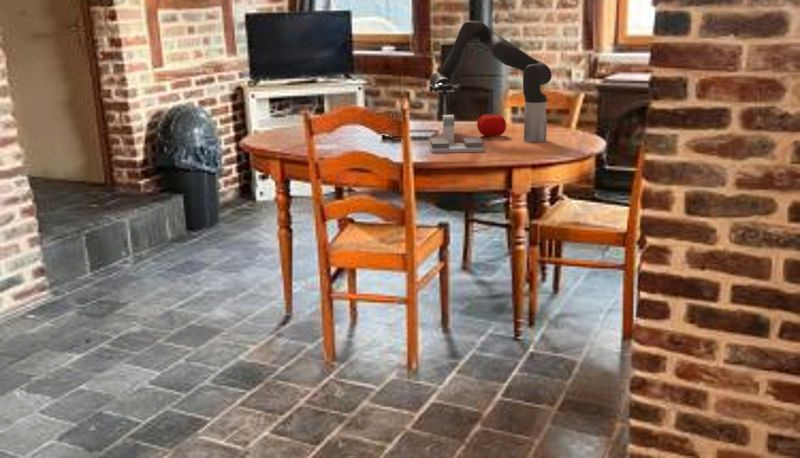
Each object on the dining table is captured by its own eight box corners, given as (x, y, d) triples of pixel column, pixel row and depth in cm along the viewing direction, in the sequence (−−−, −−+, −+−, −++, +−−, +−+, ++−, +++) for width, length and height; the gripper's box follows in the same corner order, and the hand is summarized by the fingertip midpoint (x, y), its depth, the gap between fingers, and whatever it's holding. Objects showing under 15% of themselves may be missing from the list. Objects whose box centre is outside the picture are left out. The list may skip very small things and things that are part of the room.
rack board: (479, 144, 336) (479, 136, 335) (484, 151, 320) (484, 143, 319) (429, 146, 335) (428, 138, 334) (431, 152, 320) (431, 144, 319)
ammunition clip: (405, 138, 356) (404, 112, 353) (405, 139, 354) (404, 112, 351) (381, 138, 356) (381, 112, 353) (381, 139, 355) (380, 113, 351)
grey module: (453, 141, 345) (453, 114, 341) (454, 143, 340) (454, 116, 336) (442, 142, 345) (442, 115, 341) (443, 144, 340) (443, 116, 336)
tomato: (505, 134, 362) (506, 111, 359) (506, 138, 351) (506, 115, 348) (476, 134, 364) (477, 111, 361) (476, 138, 352) (476, 115, 349)
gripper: (428, 78, 361) (430, 81, 346) (458, 77, 361) (462, 80, 346) (428, 94, 363) (430, 98, 348) (458, 93, 364) (462, 97, 348)
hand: (446, 89), depth 347 cm, fingers open, 8 cm apart
